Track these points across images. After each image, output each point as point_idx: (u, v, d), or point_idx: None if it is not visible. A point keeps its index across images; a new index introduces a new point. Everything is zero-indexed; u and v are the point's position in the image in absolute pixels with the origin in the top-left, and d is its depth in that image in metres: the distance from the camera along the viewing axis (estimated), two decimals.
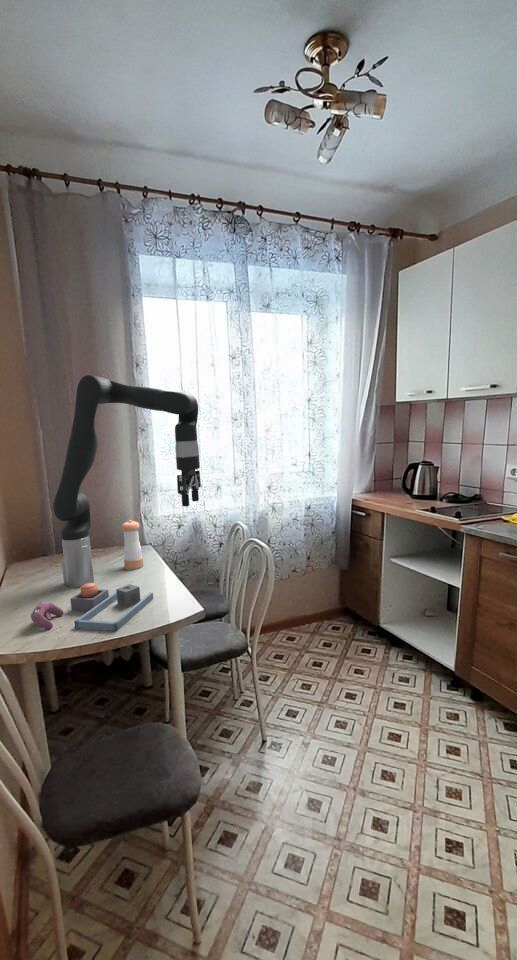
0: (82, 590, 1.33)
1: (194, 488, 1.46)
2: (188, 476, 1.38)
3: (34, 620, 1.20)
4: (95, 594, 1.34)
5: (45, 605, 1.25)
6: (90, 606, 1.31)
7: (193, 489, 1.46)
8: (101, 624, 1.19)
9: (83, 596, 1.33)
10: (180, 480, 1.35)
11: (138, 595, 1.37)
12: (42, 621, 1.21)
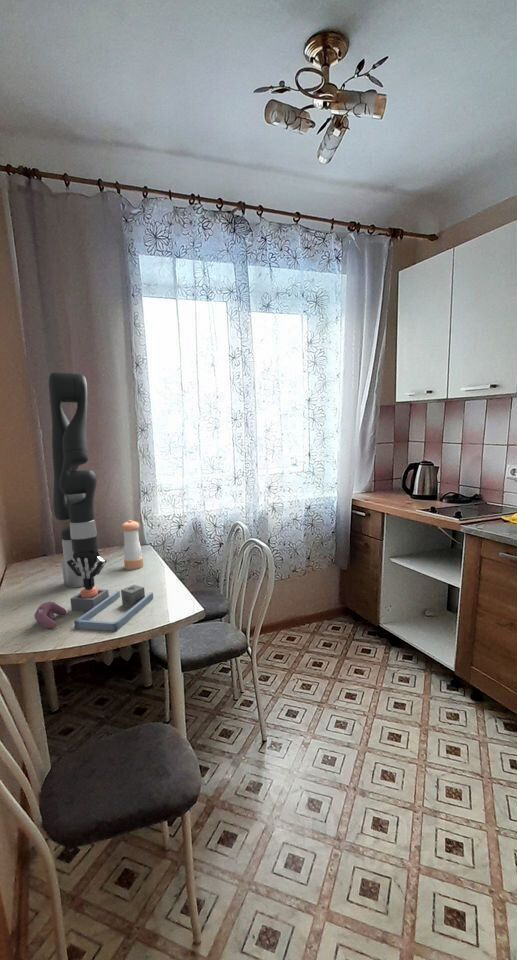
0: (82, 594, 1.33)
1: None
2: None
3: (38, 620, 1.21)
4: None
5: (48, 605, 1.25)
6: (90, 606, 1.31)
7: (86, 576, 1.34)
8: (101, 624, 1.19)
9: None
10: (102, 565, 1.33)
11: (143, 596, 1.36)
12: (46, 621, 1.21)
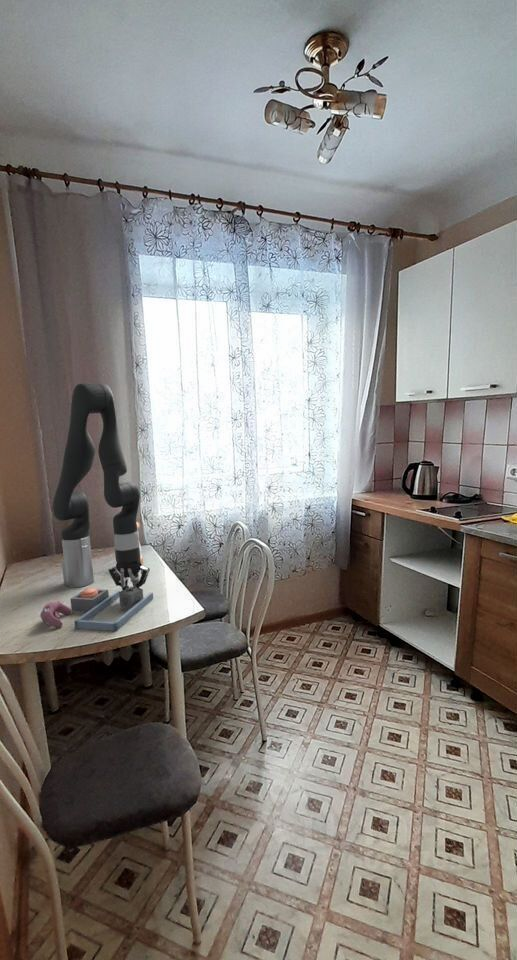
0: (83, 596, 1.33)
1: (126, 584, 1.38)
2: None
3: (44, 619, 1.21)
4: None
5: (54, 604, 1.25)
6: (90, 606, 1.31)
7: (125, 586, 1.38)
8: (101, 624, 1.19)
9: None
10: (146, 574, 1.36)
11: (141, 597, 1.35)
12: (52, 620, 1.21)
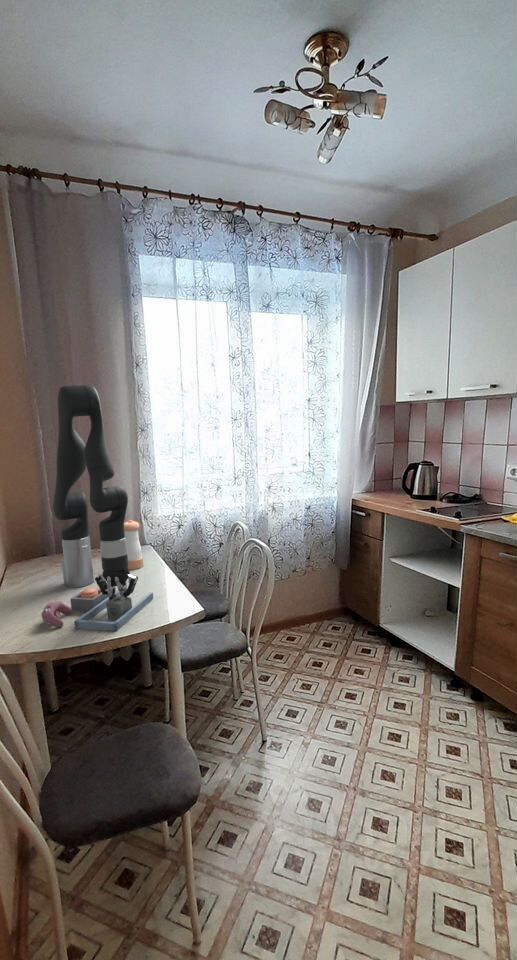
0: (83, 596, 1.33)
1: (113, 593, 1.31)
2: None
3: (45, 619, 1.21)
4: None
5: (55, 604, 1.25)
6: (90, 606, 1.31)
7: (112, 595, 1.31)
8: (101, 624, 1.19)
9: None
10: (134, 582, 1.29)
11: (130, 606, 1.28)
12: (53, 620, 1.21)
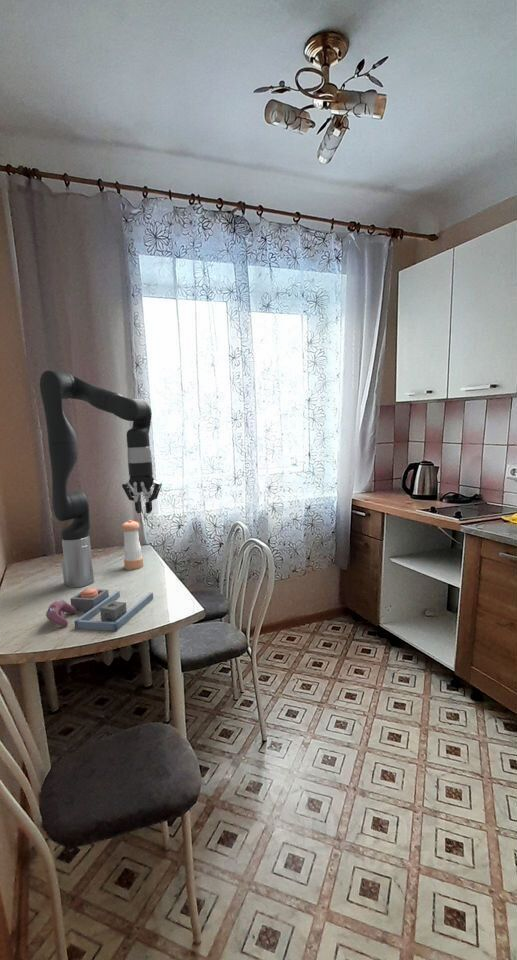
0: (83, 596, 1.33)
1: (138, 499, 1.42)
2: None
3: (49, 618, 1.21)
4: None
5: (59, 603, 1.26)
6: (90, 606, 1.31)
7: (138, 501, 1.42)
8: (101, 624, 1.19)
9: None
10: (159, 488, 1.40)
11: (125, 612, 1.25)
12: (58, 619, 1.21)
